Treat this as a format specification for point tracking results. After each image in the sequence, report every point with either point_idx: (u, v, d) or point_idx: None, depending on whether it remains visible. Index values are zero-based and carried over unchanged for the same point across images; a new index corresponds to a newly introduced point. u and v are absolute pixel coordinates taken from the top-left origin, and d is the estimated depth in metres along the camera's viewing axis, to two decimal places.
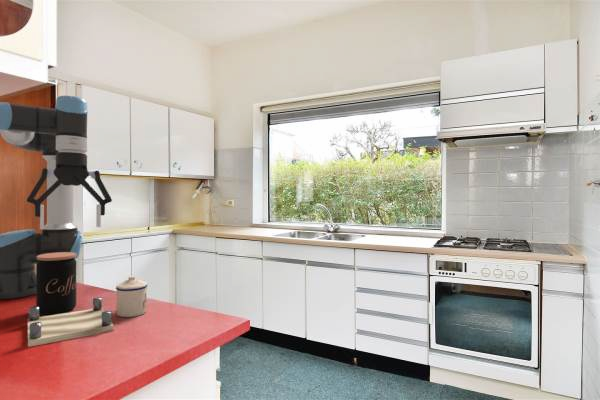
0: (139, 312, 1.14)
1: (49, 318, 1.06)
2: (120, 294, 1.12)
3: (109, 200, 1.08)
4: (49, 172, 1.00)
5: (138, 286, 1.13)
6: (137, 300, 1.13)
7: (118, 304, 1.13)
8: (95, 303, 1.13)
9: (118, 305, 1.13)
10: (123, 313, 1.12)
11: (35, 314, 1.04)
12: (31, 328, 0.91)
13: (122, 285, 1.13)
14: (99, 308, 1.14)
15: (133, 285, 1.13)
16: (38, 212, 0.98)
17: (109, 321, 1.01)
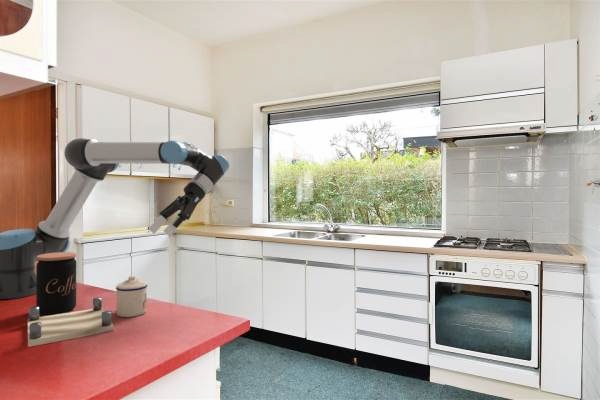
0: (139, 312, 1.14)
1: (49, 318, 1.06)
2: (120, 294, 1.12)
3: None
4: None
5: (138, 286, 1.13)
6: (137, 300, 1.13)
7: (118, 304, 1.13)
8: (95, 303, 1.13)
9: (118, 305, 1.13)
10: (123, 313, 1.12)
11: (35, 314, 1.04)
12: (31, 328, 0.91)
13: (122, 285, 1.13)
14: (99, 308, 1.14)
15: (133, 285, 1.13)
16: None
17: (109, 321, 1.01)
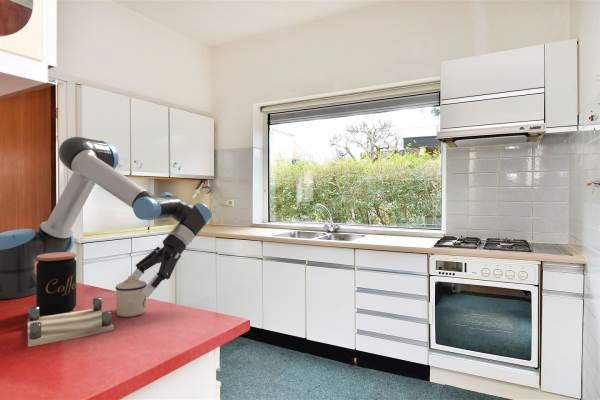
0: (139, 312, 1.14)
1: (49, 318, 1.06)
2: (120, 293, 1.12)
3: None
4: None
5: (137, 285, 1.13)
6: (136, 300, 1.13)
7: (118, 304, 1.13)
8: (95, 303, 1.13)
9: (118, 305, 1.13)
10: (123, 313, 1.12)
11: (35, 314, 1.04)
12: (31, 328, 0.91)
13: (122, 285, 1.13)
14: (99, 308, 1.14)
15: (133, 284, 1.13)
16: None
17: (109, 321, 1.01)
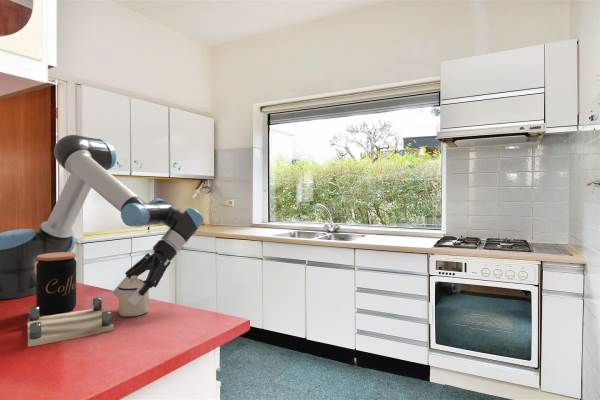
0: (145, 310, 1.15)
1: (49, 318, 1.06)
2: (127, 293, 1.12)
3: None
4: None
5: None
6: (143, 299, 1.15)
7: (123, 304, 1.12)
8: (95, 303, 1.13)
9: (123, 305, 1.12)
10: (130, 313, 1.12)
11: (35, 314, 1.04)
12: (31, 328, 0.91)
13: (127, 285, 1.13)
14: (99, 308, 1.14)
15: (139, 284, 1.14)
16: None
17: (109, 321, 1.01)
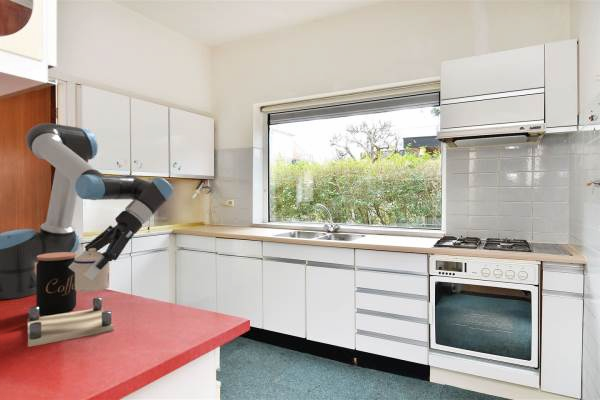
0: (104, 286, 1.05)
1: (49, 318, 1.06)
2: (83, 267, 1.01)
3: None
4: None
5: None
6: (102, 273, 1.04)
7: (79, 279, 1.01)
8: (95, 303, 1.13)
9: (79, 280, 1.01)
10: (87, 288, 1.01)
11: (35, 314, 1.04)
12: (31, 328, 0.91)
13: (84, 258, 1.02)
14: (99, 308, 1.14)
15: (98, 257, 1.04)
16: None
17: (109, 321, 1.01)
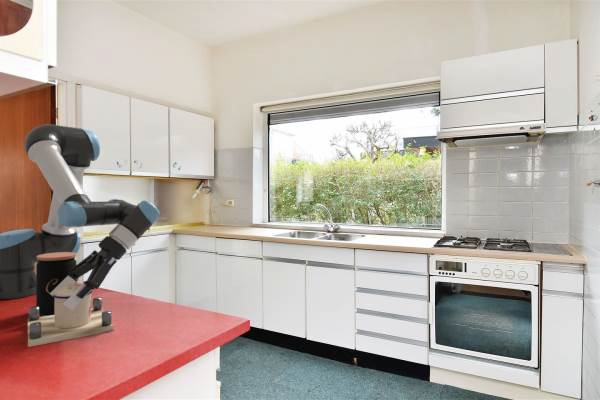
0: (85, 321, 1.01)
1: (49, 318, 1.06)
2: (62, 302, 0.98)
3: None
4: None
5: None
6: (82, 308, 1.00)
7: (59, 314, 0.98)
8: (95, 303, 1.13)
9: (59, 315, 0.98)
10: (67, 324, 0.98)
11: (35, 314, 1.04)
12: (31, 328, 0.91)
13: (63, 292, 0.99)
14: (99, 308, 1.14)
15: None
16: None
17: (109, 321, 1.01)
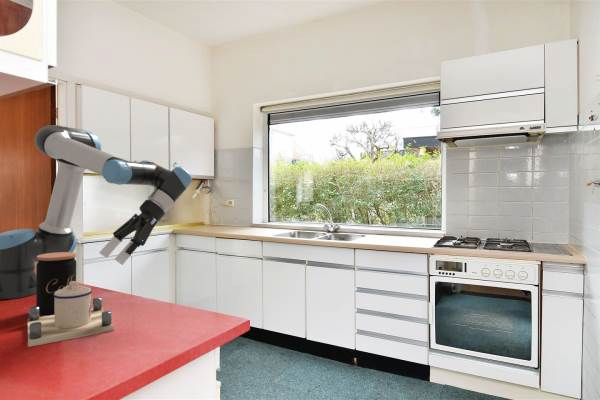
0: (85, 321, 1.01)
1: (49, 318, 1.06)
2: (62, 302, 0.98)
3: None
4: None
5: (84, 292, 1.01)
6: (82, 308, 1.00)
7: (59, 314, 0.98)
8: (95, 303, 1.13)
9: (59, 315, 0.98)
10: (67, 324, 0.98)
11: (35, 314, 1.04)
12: (31, 328, 0.91)
13: (63, 292, 0.99)
14: (99, 308, 1.14)
15: (78, 291, 1.00)
16: None
17: (109, 321, 1.01)
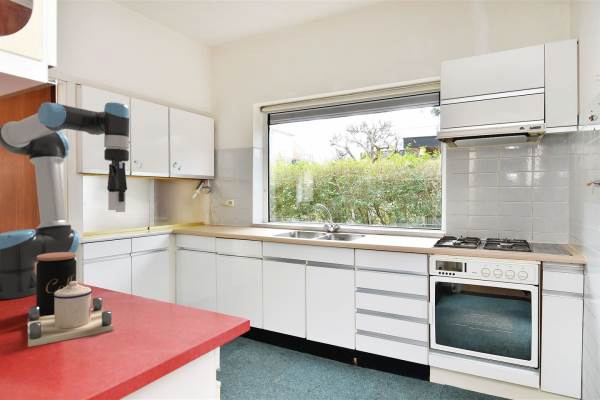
0: (85, 321, 1.01)
1: (49, 318, 1.06)
2: (62, 302, 0.98)
3: None
4: None
5: (84, 292, 1.01)
6: (82, 308, 1.00)
7: (59, 314, 0.98)
8: (95, 303, 1.13)
9: (59, 315, 0.98)
10: (67, 324, 0.98)
11: (35, 314, 1.04)
12: (31, 328, 0.91)
13: (63, 292, 0.99)
14: (99, 308, 1.14)
15: (78, 291, 1.00)
16: (123, 198, 1.20)
17: (109, 321, 1.01)
